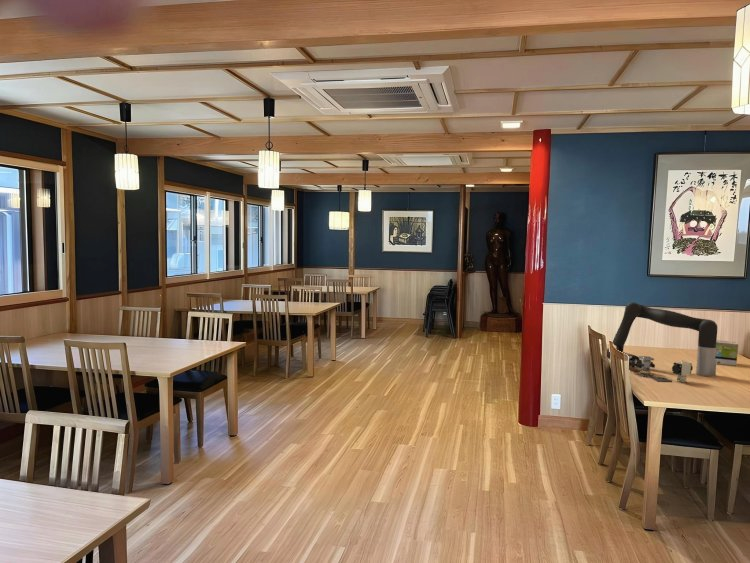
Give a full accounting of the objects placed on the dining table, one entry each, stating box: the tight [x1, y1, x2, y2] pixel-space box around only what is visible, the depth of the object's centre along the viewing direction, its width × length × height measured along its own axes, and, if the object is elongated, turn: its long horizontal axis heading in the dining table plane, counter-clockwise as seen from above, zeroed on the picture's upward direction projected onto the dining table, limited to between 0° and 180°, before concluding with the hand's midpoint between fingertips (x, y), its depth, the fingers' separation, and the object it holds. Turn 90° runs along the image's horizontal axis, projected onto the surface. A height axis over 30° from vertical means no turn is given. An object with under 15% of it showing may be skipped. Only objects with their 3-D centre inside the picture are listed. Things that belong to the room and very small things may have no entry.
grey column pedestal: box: [637, 355, 655, 378], centre depth 320 cm, size 6×6×11 cm
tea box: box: [715, 339, 739, 366], centre depth 360 cm, size 15×10×15 cm, turn 68°
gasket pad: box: [649, 376, 673, 383], centre depth 310 cm, size 8×8×1 cm
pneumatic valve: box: [671, 360, 694, 383], centre depth 307 cm, size 6×12×12 cm, turn 115°
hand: (647, 366), depth 318 cm, fingers open, 8 cm apart
